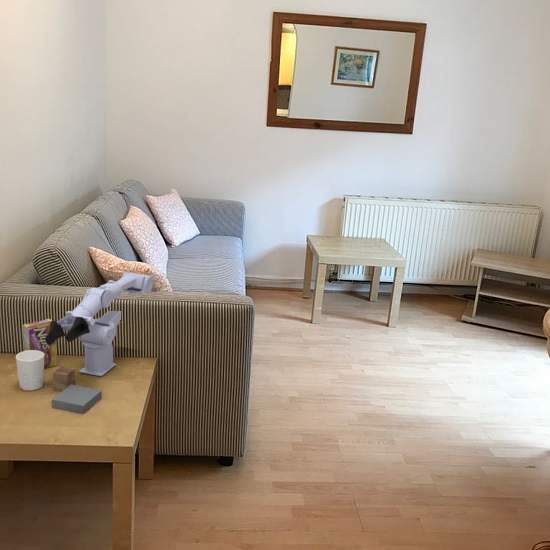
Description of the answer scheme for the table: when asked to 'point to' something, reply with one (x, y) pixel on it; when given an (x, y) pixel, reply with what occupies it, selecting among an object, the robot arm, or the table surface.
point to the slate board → (76, 399)
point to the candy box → (40, 341)
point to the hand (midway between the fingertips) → (57, 340)
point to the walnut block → (63, 378)
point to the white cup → (30, 369)
